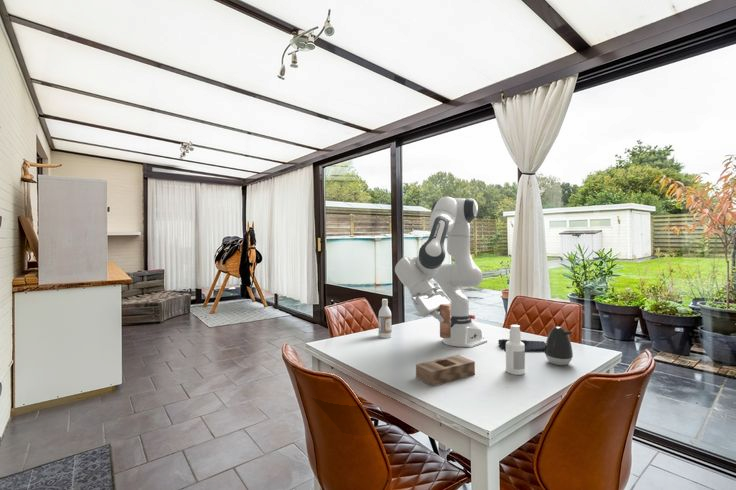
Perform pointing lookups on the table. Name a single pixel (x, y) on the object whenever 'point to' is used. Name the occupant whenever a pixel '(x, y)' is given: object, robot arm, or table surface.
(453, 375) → the socket block
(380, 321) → the bath foam
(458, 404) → the table surface
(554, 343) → the pump dispenser
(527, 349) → the dark slate chunk
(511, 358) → the white bottle
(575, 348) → the table surface
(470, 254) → the robot arm
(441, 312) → the peg
